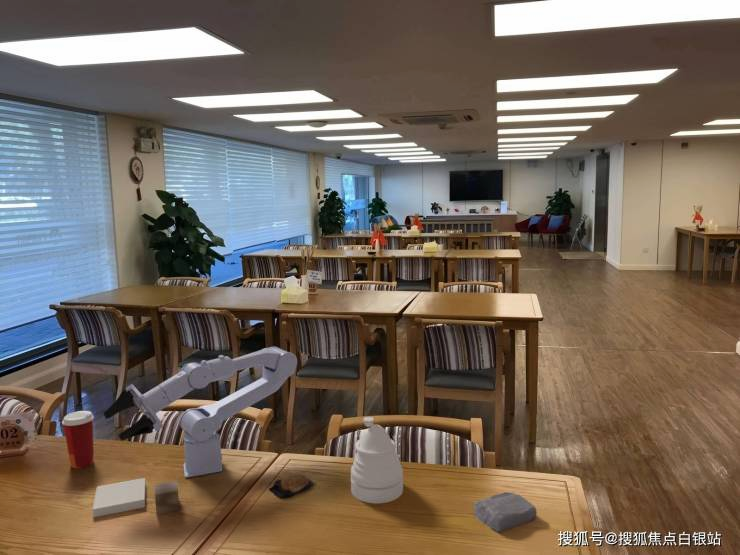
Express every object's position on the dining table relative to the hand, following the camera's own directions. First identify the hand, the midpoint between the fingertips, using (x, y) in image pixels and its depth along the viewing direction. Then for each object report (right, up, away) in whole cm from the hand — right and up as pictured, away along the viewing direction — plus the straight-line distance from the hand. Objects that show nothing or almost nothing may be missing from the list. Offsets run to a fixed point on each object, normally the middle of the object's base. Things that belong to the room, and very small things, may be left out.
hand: (112, 427), depth 134 cm
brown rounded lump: (+43, -17, +5) cm, 46 cm away
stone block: (+92, -18, -8) cm, 94 cm away
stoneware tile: (+2, -18, 0) cm, 18 cm away
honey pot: (+64, -17, +4) cm, 66 cm away
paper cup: (-17, -16, +19) cm, 30 cm away
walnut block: (+14, -18, -3) cm, 23 cm away
